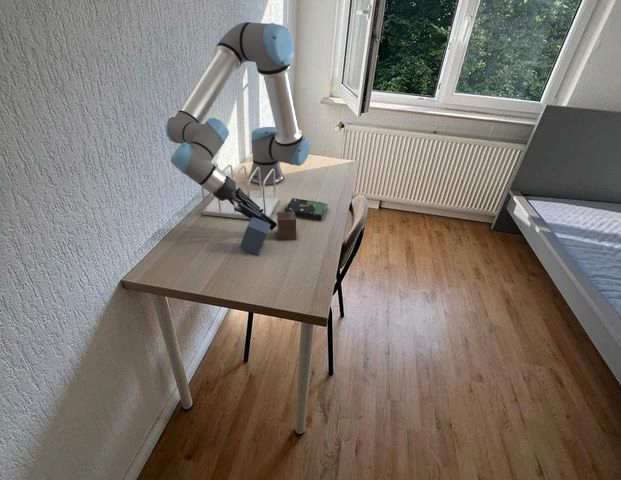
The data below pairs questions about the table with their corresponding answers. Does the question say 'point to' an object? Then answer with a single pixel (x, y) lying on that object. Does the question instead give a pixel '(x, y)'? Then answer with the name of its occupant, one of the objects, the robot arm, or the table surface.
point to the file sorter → (263, 201)
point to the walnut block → (286, 225)
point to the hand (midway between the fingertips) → (274, 226)
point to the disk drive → (307, 209)
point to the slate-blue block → (255, 235)
